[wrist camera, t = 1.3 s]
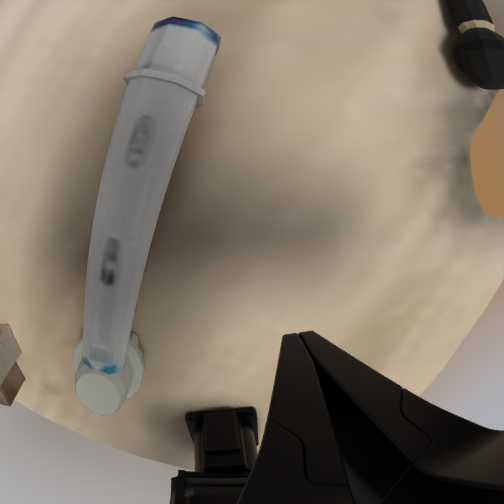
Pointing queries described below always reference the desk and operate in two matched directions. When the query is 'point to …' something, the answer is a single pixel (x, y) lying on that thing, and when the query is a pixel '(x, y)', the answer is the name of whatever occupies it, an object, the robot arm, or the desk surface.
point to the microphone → (478, 44)
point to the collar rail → (9, 366)
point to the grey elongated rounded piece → (136, 204)
